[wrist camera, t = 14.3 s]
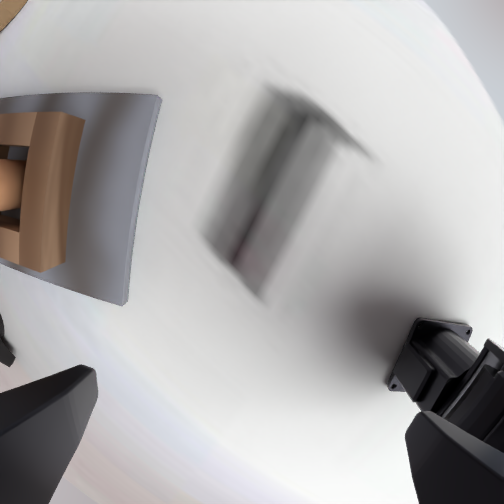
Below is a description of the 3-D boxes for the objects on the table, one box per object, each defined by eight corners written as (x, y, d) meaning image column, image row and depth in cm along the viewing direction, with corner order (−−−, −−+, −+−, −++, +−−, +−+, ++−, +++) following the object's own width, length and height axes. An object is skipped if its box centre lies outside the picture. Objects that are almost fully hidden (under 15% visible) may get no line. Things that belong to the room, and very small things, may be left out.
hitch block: (162, 99, 17) (140, 80, 13) (127, 301, 20) (102, 324, 16) (-15, 103, 17) (-43, 97, 13) (-32, 244, 20) (-59, 252, 16)
